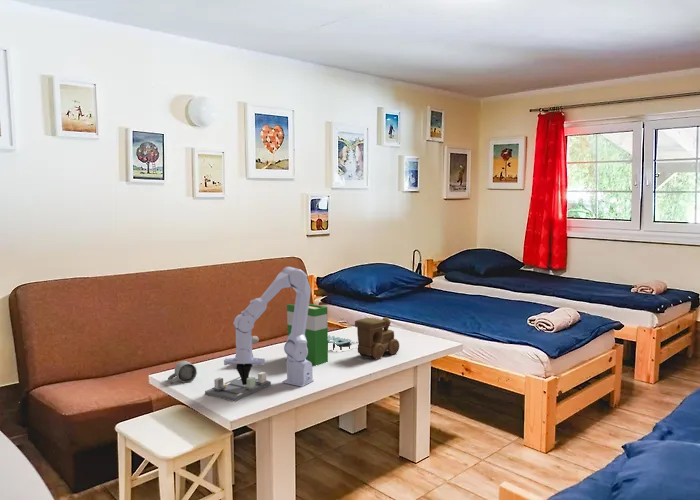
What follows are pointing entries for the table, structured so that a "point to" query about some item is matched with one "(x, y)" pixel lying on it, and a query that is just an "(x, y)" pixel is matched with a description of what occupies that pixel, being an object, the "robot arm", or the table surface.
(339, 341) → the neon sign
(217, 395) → the panel
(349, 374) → the table surface
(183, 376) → the ceramic mug
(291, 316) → the hardback book
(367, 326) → the wooden toy train
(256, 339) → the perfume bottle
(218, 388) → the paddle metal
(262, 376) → the paddle cream
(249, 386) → the pale mint cube
